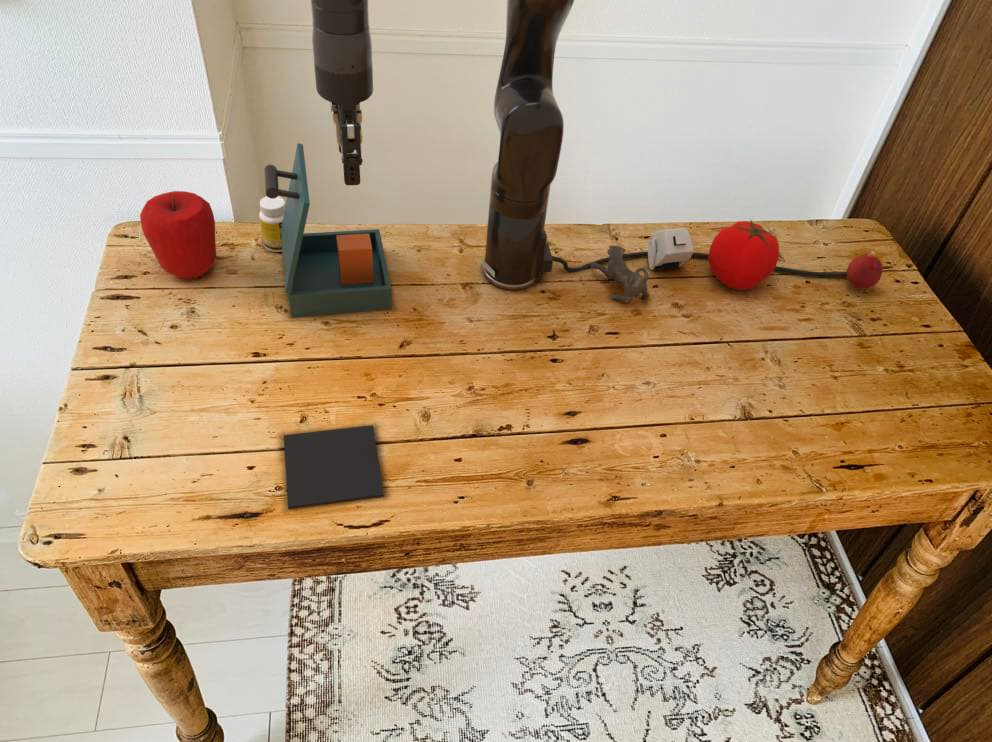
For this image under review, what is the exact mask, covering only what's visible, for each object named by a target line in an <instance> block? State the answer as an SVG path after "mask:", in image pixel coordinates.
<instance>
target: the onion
mask: <svg viewBox="0 0 992 742" xmlns="http://www.w3.org/2000/svg"><path fill="white" fill-rule="evenodd" d="M883 269H884V268H883V264H882V261H881V260H880V259H879V258H878V256H877V254H876V252H875V251H874V250H870V251H869V253H863V254H859V255H857V256H856V257H854V258H853V259H852V260H851V261H850V262H849V263H848V265H847V268H846V273H847V277H846V278H847V280H848V281H849V283H850V285H851V286H852V288H853V289H856V290H866V289H870V288H872V287H874V286H876V285H877V284H878V283H879V281H880V280H881V278H882V276H883V275H882V274H883Z"/></svg>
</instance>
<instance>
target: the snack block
mask: <svg viewBox="0 0 992 742" xmlns="http://www.w3.org/2000/svg"><path fill="white" fill-rule="evenodd" d="M336 240H337V252H338V264H339V274H340V281H341V285H354V284H368V283H374V282H373V259H372V246H371V240H370V235H369V233H368V234H351V235H336Z"/></svg>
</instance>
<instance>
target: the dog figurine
mask: <svg viewBox="0 0 992 742" xmlns="http://www.w3.org/2000/svg"><path fill="white" fill-rule="evenodd" d="M608 248H609V249H607V250H606V251H607V255H608V257H609V262H608V264H607V267H606V266H604V265H602V264H598V263H595V261H593V262H594V263H593V264H591V265H590V266H591V268H590V269H595V270H599V271H601V273H603V274H604V276H605V277H606V278H608V279H609V280H613V281H614V282H615V283H616V284H617V285H618V286H620V287H621V288H623V290H624V294H620V293H613V294H612V295H611V299H613V300H616V301H618V302H623V303H626V304H628V303H630V301H631V299H632V298H633V297H634V298H635V299H636V298H639V297H640V295H641V299H644V300H647V299H649V297H650V293H649V292H648V284H647V281H648V280H649V276H650V275H649V271H648V270H647V269H646V268H645V267H639V268H636V270H635V271H633V270H631V269H630V268H629V267H628V265H627V264H626V262H625V261H624V259H623V258H622V257H623V255H624V254H625V252H626V248H624V247H622V246H620V245H613V244H611V245H609V247H608ZM641 272H643V275H642V274H641Z"/></svg>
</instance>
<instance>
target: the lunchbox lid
mask: <svg viewBox="0 0 992 742" xmlns="http://www.w3.org/2000/svg"><path fill="white" fill-rule="evenodd" d="M304 150H305V149H304V144H303V143H300V142H299V143H297V145H296V149H295V153H294V159H293V166H292V170H291V172H290V171H285V170H279V169H278V168H277V167H276V166H275V165H274V164H267V165H266V166H265V167H264V169H263V170H264V189H265V190H264V191H265V195H266V197H269V198H271V199H274V198H277V197H278V196H279V197H282V198H286V201H285V205H286V207H285V212H284V217H283V222H282V228H281V242H282V252H281V253H282V255H281V256H282V268H283V280H284V281H283V282H284V293H285V294H287V295H288V294H291V289H292V285H293V280H294V275H295V271H296V266H297V261H298V257H299V252H300V247H301V243H302V238H303V233H305V228H306V224H307V218H308V214H309V210H310V206H311V202H310V193H309V184H308V176H307V168H306V160H305V151H304ZM279 178H284V179H290V181H289V185H288V186H289V187H288V190H286V189H280V188H279Z"/></svg>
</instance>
